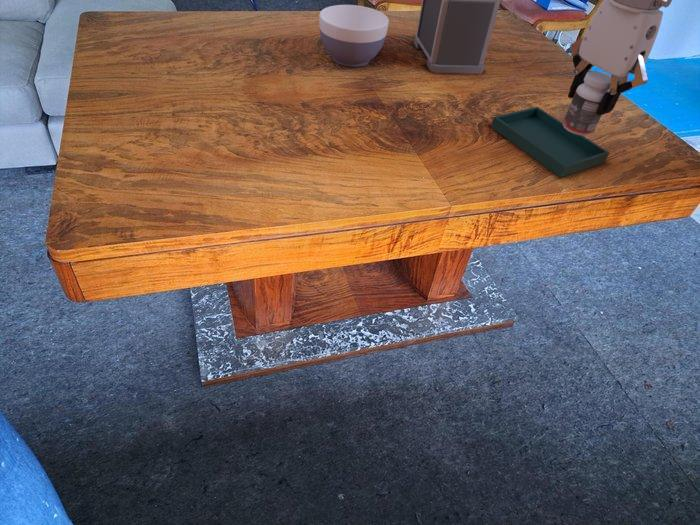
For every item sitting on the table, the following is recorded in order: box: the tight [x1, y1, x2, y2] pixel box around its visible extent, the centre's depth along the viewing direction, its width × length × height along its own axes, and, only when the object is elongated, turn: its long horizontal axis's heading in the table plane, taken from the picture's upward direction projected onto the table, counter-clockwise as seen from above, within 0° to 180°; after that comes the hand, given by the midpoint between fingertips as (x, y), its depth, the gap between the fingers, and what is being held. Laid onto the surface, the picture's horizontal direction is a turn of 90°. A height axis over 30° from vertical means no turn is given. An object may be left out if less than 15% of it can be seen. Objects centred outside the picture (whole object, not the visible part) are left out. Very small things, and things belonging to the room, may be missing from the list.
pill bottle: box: [562, 70, 611, 137], centre depth 90 cm, size 6×6×10 cm
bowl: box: [318, 4, 390, 68], centre depth 118 cm, size 16×16×10 cm
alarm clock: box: [413, 0, 502, 75], centre depth 121 cm, size 18×13×18 cm
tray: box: [490, 106, 610, 178], centre depth 100 cm, size 19×12×2 cm, turn 30°
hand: (588, 103), depth 90 cm, fingers closed on pill bottle, 5 cm apart
